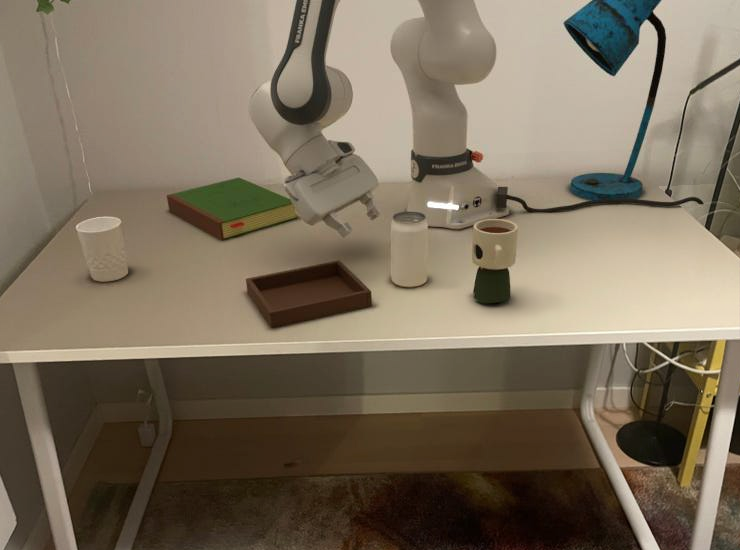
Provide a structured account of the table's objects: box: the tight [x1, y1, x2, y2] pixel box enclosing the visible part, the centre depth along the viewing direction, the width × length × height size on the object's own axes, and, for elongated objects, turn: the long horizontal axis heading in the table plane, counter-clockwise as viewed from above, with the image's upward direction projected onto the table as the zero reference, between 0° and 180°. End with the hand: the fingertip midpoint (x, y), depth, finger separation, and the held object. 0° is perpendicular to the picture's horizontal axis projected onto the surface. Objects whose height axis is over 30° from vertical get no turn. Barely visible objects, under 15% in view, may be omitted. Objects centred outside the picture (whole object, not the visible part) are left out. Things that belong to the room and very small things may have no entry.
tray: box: [245, 260, 373, 329], centre depth 128 cm, size 18×15×3 cm
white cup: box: [75, 216, 129, 283], centre depth 138 cm, size 8×8×10 cm
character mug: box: [471, 218, 519, 304], centre depth 123 cm, size 11×7×13 cm, turn 179°
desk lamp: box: [563, 0, 667, 201], centre depth 161 cm, size 16×22×45 cm
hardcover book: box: [166, 177, 298, 241], centre depth 166 cm, size 25×19×4 cm
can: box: [390, 210, 429, 288], centre depth 131 cm, size 6×6×12 cm
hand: (362, 225), depth 134 cm, fingers open, 8 cm apart
